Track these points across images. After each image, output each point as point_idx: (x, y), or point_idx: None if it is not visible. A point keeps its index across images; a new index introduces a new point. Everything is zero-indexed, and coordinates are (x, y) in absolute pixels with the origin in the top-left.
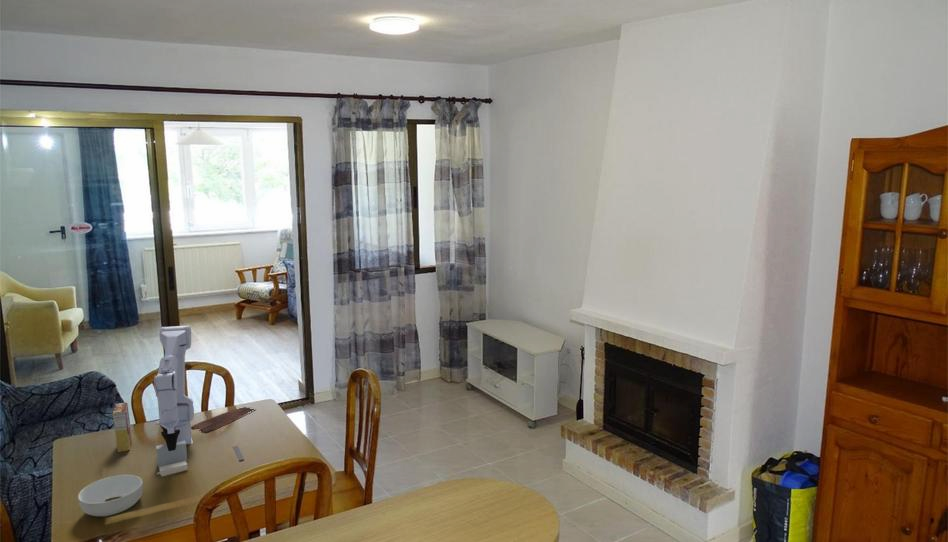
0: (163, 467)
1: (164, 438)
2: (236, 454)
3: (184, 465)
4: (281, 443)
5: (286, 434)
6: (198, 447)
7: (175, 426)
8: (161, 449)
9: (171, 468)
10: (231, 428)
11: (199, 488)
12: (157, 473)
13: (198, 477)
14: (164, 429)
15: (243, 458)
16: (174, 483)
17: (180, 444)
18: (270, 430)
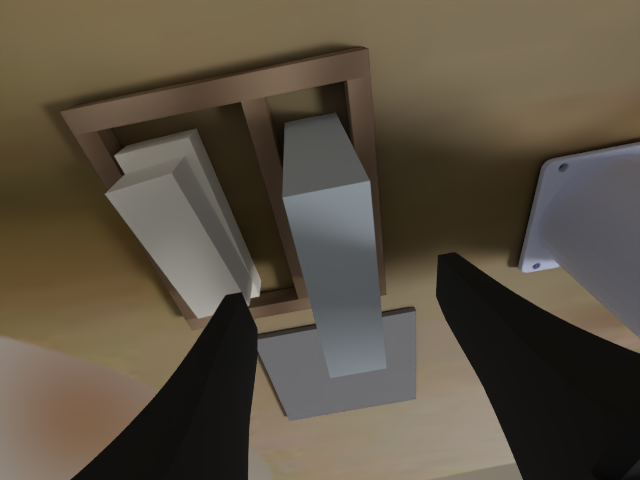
0: (162, 203)
1: (103, 453)
2: (339, 402)
3: (191, 305)
4: (375, 466)
5: (432, 468)
6: (502, 284)
7: (514, 452)
8: (292, 230)
9: (148, 250)
10: None
11: (49, 333)
12: (174, 141)
13: (163, 318)
14: (532, 366)
15: (295, 419)
16: (97, 233)
17: (324, 353)
18: (489, 443)
